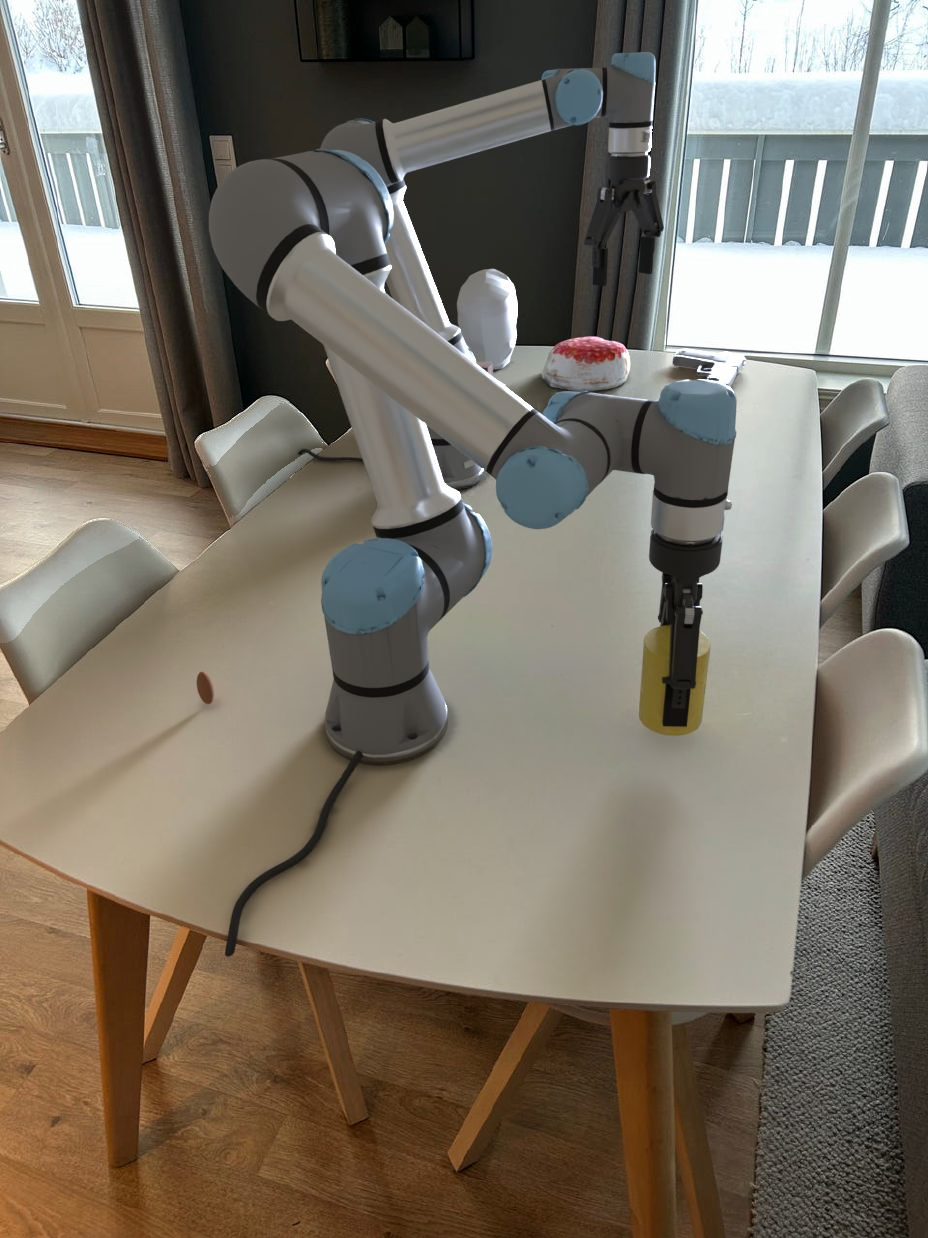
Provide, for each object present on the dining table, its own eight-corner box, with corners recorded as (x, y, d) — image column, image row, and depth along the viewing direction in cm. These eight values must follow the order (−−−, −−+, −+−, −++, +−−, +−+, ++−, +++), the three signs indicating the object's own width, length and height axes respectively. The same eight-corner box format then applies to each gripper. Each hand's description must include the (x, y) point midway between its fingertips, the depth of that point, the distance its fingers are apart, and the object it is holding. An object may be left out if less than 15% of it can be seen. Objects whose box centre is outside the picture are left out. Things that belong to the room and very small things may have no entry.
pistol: (654, 390, 223) (729, 396, 216) (655, 374, 221) (730, 380, 214) (678, 360, 242) (747, 365, 235) (679, 345, 240) (749, 349, 233)
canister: (658, 742, 105) (665, 666, 99) (627, 706, 111) (632, 632, 105) (714, 726, 107) (723, 650, 101) (680, 692, 113) (688, 619, 107)
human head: (525, 334, 255) (519, 254, 235) (516, 385, 243) (510, 305, 223) (470, 333, 258) (461, 254, 237) (459, 384, 246) (448, 305, 226)
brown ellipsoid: (219, 703, 119) (212, 671, 116) (206, 710, 118) (198, 678, 115) (211, 696, 120) (204, 665, 117) (198, 703, 119) (190, 672, 116)
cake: (647, 369, 236) (649, 330, 231) (607, 396, 219) (609, 354, 214) (567, 359, 247) (568, 321, 242) (524, 384, 230) (524, 344, 225)
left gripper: (739, 576, 87) (715, 759, 99) (709, 491, 104) (691, 656, 116) (660, 576, 88) (645, 758, 100) (643, 491, 105) (632, 655, 117)
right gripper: (599, 161, 152) (594, 293, 163) (688, 148, 166) (678, 270, 177) (566, 159, 157) (563, 287, 168) (655, 147, 171) (648, 265, 182)
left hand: (670, 703), depth 108 cm, fingers closed on canister, 7 cm apart
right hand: (622, 279), depth 172 cm, fingers open, 13 cm apart
